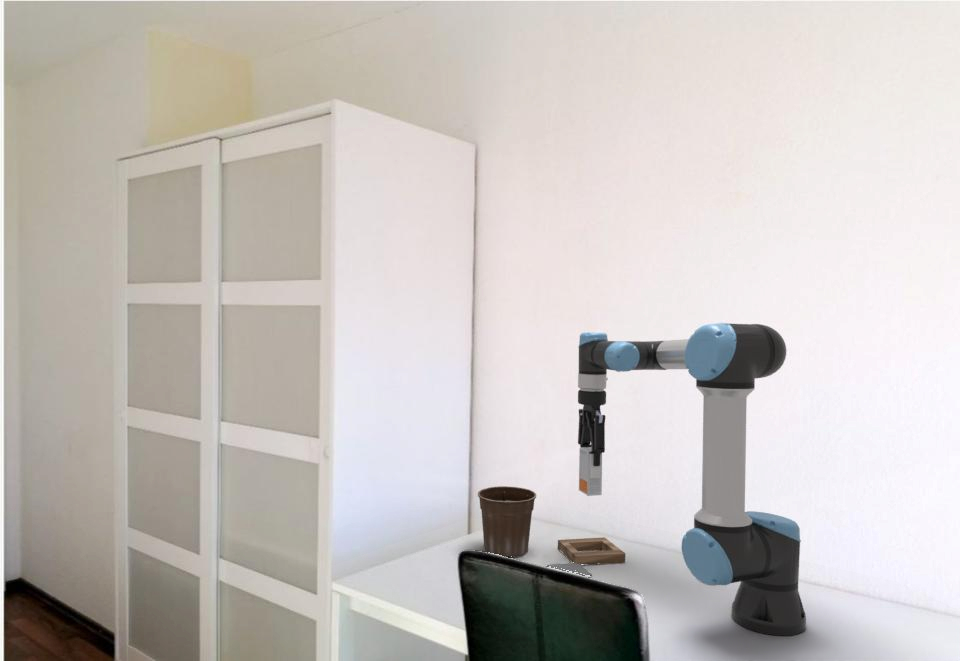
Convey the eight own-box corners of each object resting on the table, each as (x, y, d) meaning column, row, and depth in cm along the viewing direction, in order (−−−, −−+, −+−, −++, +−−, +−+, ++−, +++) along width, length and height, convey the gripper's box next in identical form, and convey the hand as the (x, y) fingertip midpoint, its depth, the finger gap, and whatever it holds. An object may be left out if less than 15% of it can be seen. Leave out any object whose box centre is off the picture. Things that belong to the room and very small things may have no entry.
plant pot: (518, 565, 193) (519, 504, 193) (465, 554, 201) (466, 495, 201) (544, 548, 207) (546, 491, 207) (494, 538, 215) (495, 483, 215)
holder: (625, 562, 197) (625, 553, 197) (575, 565, 194) (576, 556, 194) (604, 546, 211) (604, 537, 211) (557, 548, 207) (557, 539, 207)
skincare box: (578, 491, 202) (578, 447, 202) (592, 490, 203) (593, 446, 203) (587, 496, 196) (588, 451, 196) (602, 495, 197) (603, 450, 197)
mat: (591, 577, 186) (591, 574, 186) (557, 579, 184) (557, 576, 184) (578, 564, 194) (578, 562, 194) (546, 567, 192) (546, 564, 192)
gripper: (619, 393, 191) (617, 482, 191) (592, 386, 209) (590, 467, 210) (592, 393, 189) (590, 483, 189) (567, 386, 208) (565, 468, 208)
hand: (590, 474), depth 200 cm, fingers closed on skincare box, 6 cm apart
